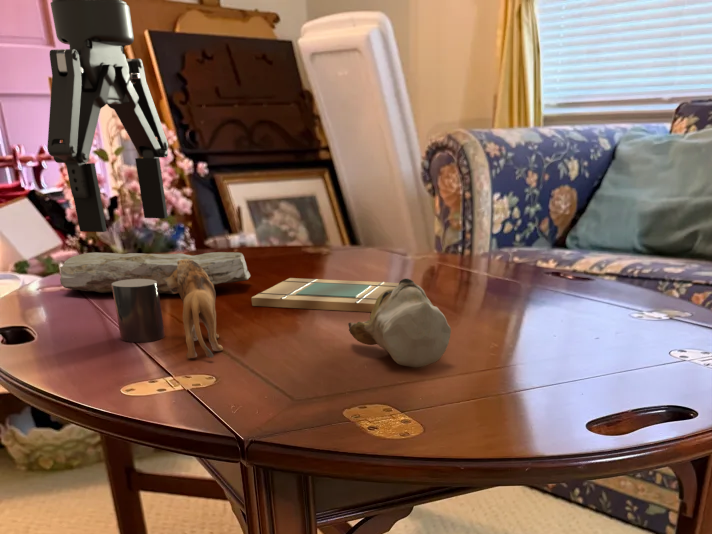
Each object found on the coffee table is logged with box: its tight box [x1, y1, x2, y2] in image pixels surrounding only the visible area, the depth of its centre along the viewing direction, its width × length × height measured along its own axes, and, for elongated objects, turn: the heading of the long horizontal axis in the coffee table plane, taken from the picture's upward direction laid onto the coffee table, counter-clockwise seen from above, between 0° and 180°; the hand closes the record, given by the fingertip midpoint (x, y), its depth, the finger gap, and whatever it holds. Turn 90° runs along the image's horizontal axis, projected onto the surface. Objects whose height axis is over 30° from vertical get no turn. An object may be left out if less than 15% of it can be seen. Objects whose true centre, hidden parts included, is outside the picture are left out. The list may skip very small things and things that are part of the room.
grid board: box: [251, 277, 399, 313], centre depth 114 cm, size 20×16×1 cm
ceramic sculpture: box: [348, 278, 452, 368], centre depth 84 cm, size 11×9×15 cm
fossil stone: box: [59, 251, 251, 295], centre depth 118 cm, size 28×15×5 cm, turn 90°
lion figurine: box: [165, 259, 224, 359], centre depth 87 cm, size 15×5×9 cm, turn 22°
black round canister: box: [111, 279, 166, 343], centre depth 92 cm, size 5×5×6 cm
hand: (126, 224), depth 87 cm, fingers open, 13 cm apart
